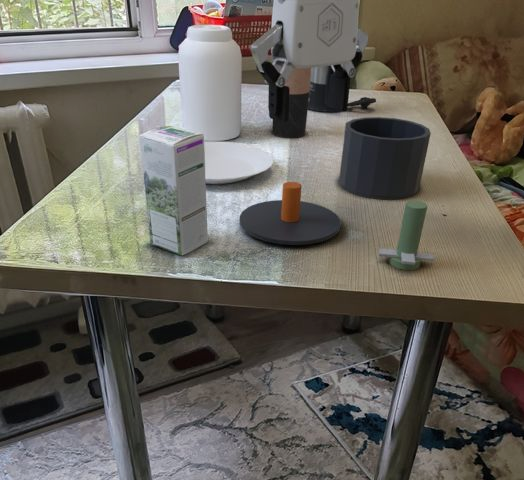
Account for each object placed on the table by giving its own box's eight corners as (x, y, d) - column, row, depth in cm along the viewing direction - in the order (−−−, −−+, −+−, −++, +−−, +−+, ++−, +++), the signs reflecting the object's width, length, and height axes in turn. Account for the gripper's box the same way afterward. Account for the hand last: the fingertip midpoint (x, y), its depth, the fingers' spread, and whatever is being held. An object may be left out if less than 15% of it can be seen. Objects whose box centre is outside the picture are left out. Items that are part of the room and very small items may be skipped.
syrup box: (209, 242, 74) (206, 131, 66) (181, 257, 71) (173, 142, 62) (178, 231, 77) (170, 123, 68) (148, 245, 73) (137, 133, 64)
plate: (198, 146, 109) (198, 135, 108) (292, 166, 101) (293, 153, 100) (131, 176, 94) (129, 163, 93) (235, 201, 87) (235, 187, 85)
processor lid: (341, 212, 84) (346, 172, 81) (337, 253, 73) (343, 209, 69) (248, 203, 86) (249, 164, 82) (230, 243, 74) (230, 199, 71)
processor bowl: (415, 175, 99) (426, 120, 94) (421, 202, 89) (433, 142, 83) (340, 169, 101) (347, 114, 95) (337, 195, 90) (344, 135, 84)
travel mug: (295, 140, 115) (302, 31, 103) (264, 134, 118) (268, 27, 106) (312, 132, 120) (321, 27, 108) (282, 126, 123) (287, 24, 111)
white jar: (252, 136, 116) (255, 28, 104) (204, 146, 110) (200, 31, 98) (218, 123, 124) (216, 21, 112) (171, 131, 117) (164, 23, 105)
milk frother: (298, 106, 140) (302, 39, 131) (345, 100, 147) (352, 37, 138) (333, 119, 130) (340, 48, 122) (382, 111, 138) (392, 45, 129)
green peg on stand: (429, 253, 74) (442, 196, 69) (434, 278, 68) (449, 218, 63) (377, 248, 74) (386, 191, 70) (377, 272, 69) (388, 212, 64)
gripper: (275, -53, 53) (271, 131, 63) (398, -51, 61) (378, 111, 71) (232, -53, 58) (236, 118, 68) (352, -52, 66) (339, 100, 76)
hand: (308, 114), depth 70 cm, fingers open, 9 cm apart
